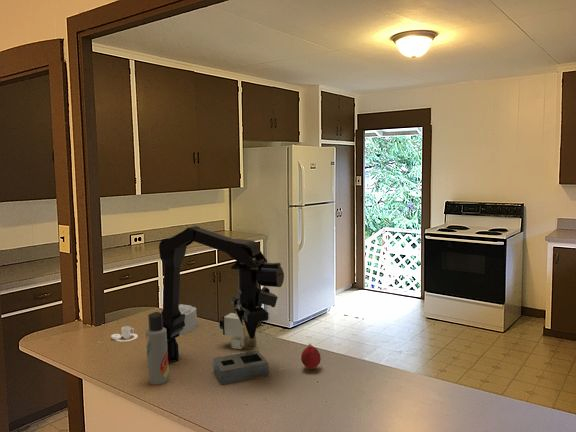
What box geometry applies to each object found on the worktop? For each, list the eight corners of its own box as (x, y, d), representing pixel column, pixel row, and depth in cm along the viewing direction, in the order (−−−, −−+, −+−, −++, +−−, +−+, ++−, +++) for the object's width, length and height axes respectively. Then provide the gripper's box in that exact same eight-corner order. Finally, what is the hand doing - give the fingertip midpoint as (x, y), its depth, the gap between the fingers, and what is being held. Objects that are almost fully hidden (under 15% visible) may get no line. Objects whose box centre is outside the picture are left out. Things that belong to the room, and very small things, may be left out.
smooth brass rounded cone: (245, 349, 143) (244, 319, 142) (241, 344, 147) (240, 315, 146) (258, 346, 145) (257, 317, 143) (254, 342, 148) (253, 313, 147)
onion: (323, 367, 148) (323, 341, 147) (316, 375, 143) (316, 348, 142) (305, 364, 151) (305, 339, 150) (298, 371, 146) (297, 345, 145)
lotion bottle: (172, 377, 144) (169, 311, 141) (161, 386, 138) (157, 317, 136) (156, 375, 146) (152, 309, 143) (144, 383, 140) (140, 315, 138)
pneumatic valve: (250, 352, 161) (249, 316, 159) (220, 347, 166) (218, 313, 164) (258, 346, 166) (257, 311, 164) (228, 341, 171) (227, 308, 169)
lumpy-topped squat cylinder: (200, 325, 188) (199, 303, 187) (180, 337, 176) (179, 313, 175) (178, 322, 192) (176, 301, 191) (157, 334, 180) (155, 311, 179)
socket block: (221, 384, 138) (220, 371, 138) (213, 370, 148) (213, 358, 147) (268, 375, 143) (268, 362, 143) (258, 362, 153) (257, 350, 152)
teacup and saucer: (108, 342, 174) (107, 330, 174) (120, 334, 182) (119, 323, 182) (130, 343, 173) (129, 332, 172) (142, 335, 180) (141, 324, 180)
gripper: (285, 288, 138) (286, 342, 139) (264, 274, 155) (265, 322, 157) (247, 293, 134) (248, 348, 136) (229, 278, 151) (231, 327, 153)
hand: (249, 335), depth 145 cm, fingers closed on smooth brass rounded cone, 4 cm apart
